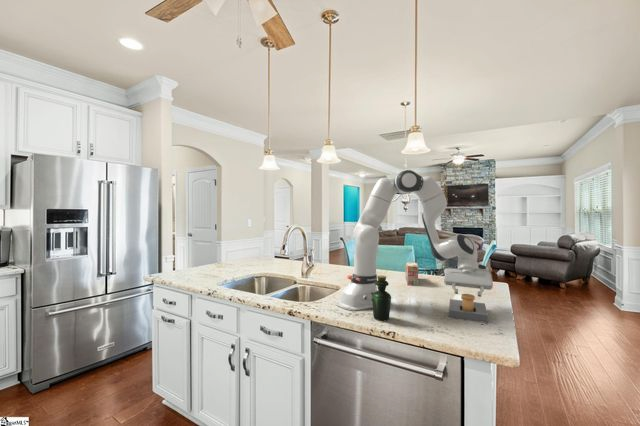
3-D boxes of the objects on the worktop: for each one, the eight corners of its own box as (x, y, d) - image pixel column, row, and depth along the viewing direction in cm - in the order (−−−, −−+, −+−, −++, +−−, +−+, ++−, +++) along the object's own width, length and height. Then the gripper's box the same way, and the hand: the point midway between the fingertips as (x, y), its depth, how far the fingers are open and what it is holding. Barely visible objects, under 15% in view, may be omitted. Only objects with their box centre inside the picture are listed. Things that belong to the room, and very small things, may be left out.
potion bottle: (386, 314, 135) (387, 274, 135) (393, 321, 127) (394, 278, 127) (369, 315, 134) (369, 274, 134) (375, 322, 126) (375, 278, 126)
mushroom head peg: (470, 318, 131) (471, 297, 131) (458, 315, 135) (459, 295, 135) (476, 316, 134) (476, 295, 134) (464, 312, 138) (465, 293, 138)
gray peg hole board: (488, 322, 127) (488, 308, 127) (448, 316, 133) (449, 303, 133) (484, 309, 143) (484, 297, 143) (449, 305, 149) (450, 293, 149)
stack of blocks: (405, 277, 208) (405, 259, 208) (414, 278, 207) (415, 260, 206) (407, 285, 187) (407, 265, 187) (418, 286, 186) (418, 266, 185)
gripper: (444, 263, 147) (442, 287, 139) (492, 267, 139) (494, 293, 130) (444, 270, 152) (442, 295, 143) (491, 275, 143) (492, 301, 134)
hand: (467, 294), depth 136 cm, fingers open, 8 cm apart
